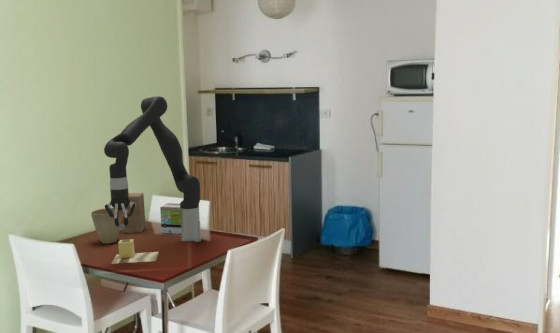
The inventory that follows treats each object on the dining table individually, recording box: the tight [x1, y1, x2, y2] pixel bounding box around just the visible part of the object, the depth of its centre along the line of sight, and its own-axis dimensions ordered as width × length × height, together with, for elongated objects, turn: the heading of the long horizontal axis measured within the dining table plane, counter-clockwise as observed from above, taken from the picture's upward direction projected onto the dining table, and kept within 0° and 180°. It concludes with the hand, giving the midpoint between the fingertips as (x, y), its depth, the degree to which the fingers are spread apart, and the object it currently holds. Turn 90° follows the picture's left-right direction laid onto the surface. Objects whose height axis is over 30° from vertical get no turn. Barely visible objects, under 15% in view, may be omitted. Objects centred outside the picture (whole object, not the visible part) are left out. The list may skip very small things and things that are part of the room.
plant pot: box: [90, 207, 120, 244], centre depth 282 cm, size 15×15×16 cm
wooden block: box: [122, 192, 147, 234], centre depth 302 cm, size 10×10×20 cm
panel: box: [111, 251, 160, 265], centre depth 251 cm, size 19×14×1 cm
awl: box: [117, 210, 126, 231], centre depth 244 cm, size 3×3×9 cm
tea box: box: [159, 202, 182, 235], centre depth 298 cm, size 15×10×15 cm
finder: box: [117, 238, 136, 258], centre depth 253 cm, size 6×5×7 cm
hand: (121, 225), depth 245 cm, fingers closed on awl, 3 cm apart
